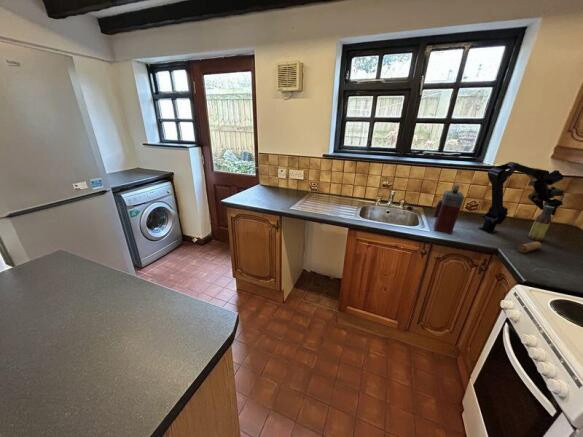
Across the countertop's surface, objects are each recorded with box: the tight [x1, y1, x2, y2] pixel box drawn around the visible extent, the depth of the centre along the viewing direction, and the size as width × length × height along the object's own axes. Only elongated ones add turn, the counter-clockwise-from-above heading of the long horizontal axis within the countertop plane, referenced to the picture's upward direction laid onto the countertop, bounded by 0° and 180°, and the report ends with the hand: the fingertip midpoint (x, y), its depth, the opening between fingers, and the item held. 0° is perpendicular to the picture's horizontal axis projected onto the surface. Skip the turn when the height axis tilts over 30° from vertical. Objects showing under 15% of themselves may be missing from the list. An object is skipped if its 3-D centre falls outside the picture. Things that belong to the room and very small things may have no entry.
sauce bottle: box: [527, 205, 554, 242], centre depth 136 cm, size 7×6×20 cm
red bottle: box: [433, 184, 465, 235], centre depth 142 cm, size 9×11×28 cm
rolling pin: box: [517, 241, 542, 254], centre depth 127 cm, size 16×4×4 cm, turn 111°
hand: (547, 212), depth 142 cm, fingers open, 9 cm apart
